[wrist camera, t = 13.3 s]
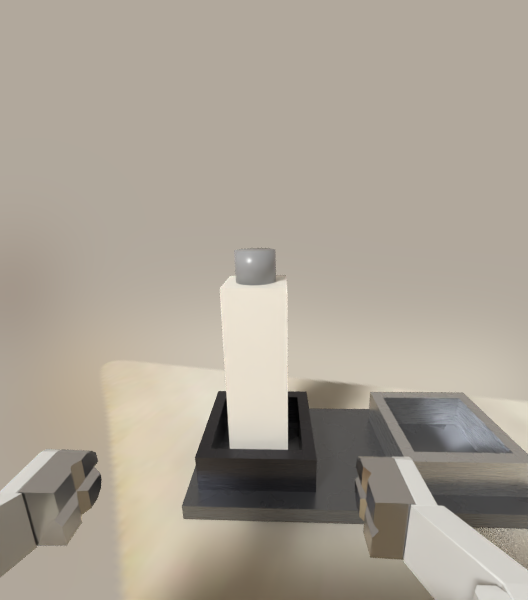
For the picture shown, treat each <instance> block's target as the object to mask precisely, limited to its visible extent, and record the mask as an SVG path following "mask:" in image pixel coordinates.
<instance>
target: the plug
mask: <svg viewBox="0 0 528 600" xmlns="http://www.w3.org/2000/svg"><path fill="white" fill-rule="evenodd" d="M234 252H235V274H236V276H230V277H229V278H228V279H227V280H226V282H225V283H224V284H223V285H222V286H221V287H220V302H221V317H222V332H223V348H224V365H225V380H226V396H227V412H228V428H229V443H230V449H273V450H288V353H287V352H288V346H287V345H288V341H287V339H288V337H287V334H288V330H287V280H286V275H276V267H275V266H276V264H275V249H268V248H250V249H239V250H235V251H234Z"/></svg>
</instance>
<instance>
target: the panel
mask: <svg viewBox="0 0 528 600" xmlns="http://www.w3.org/2000/svg"><path fill="white" fill-rule="evenodd" d="M358 456H366V457H410V458H411V459H412V460H413V462H414V464H415V465H416V467H417V469H418V471H419V473H420V474H421V476H422V478H423V480H424V481H425V483H426V485H427V487H428V489H429V490H430V492H431V494H432V496H433V498H434V499H435V501H436V503H437V505H438V506H445V507H446V508H447V509H448V510H450V511H451V512H452V513H454V514H455V515H456V516H458V517H459V518H460V519H462V520H463V521H464V522H466V523H467V524H468V525H469V526H471V527H490V528H525V529H528V454H527V453H526V452H525V451H524V450H523V449H522V448H521V447H520V446H519V445H517V444H516V443H515V442H514V441H513V440H512V439H511V438H510V437H509V436H508V435H507V434H506V433H505V432H504V431H503V430H502V429H501V428H500V427H499V426H498V425H496V424H495V423H494V422H493V421H492V420H491V419H490V418H489V417H488V416H487V415H486V414H485V413H484V412H483V411H482V410H481V409H480V408H479V407H478V406H476V405H475V404H474V403H473V402H472V401H471V400H470V399H469V398H468V397H467V396H466V395H465V394H464V393H446V392H370V403H369V409H309V406H308V400H307V393H306V392H288V450H273V449H230V443H229V428H228V412H227V396H226V391H218V394H217V397H216V400H215V403H214V406H213V408H212V411H211V414H210V417H209V420H208V423H207V425H206V428H205V431H204V434H203V437H202V440H201V442H200V445H199V448H198V451H197V454H196V457H195V461H196V466H195V469H194V472H193V475H192V478H191V481H190V484H189V487H188V490H187V493H186V496H185V499H184V502H183V505H182V510H183V518H184V519H209V520H244V521H280V522H315V523H350V524H364V521H363V520H362V519H361V518H360V517H359V514H358V510H357V505H356V500H355V479H356V478H357V477H358V472H357V469H356V461H357V457H358Z"/></svg>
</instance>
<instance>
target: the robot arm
mask: <svg viewBox="0 0 528 600" xmlns="http://www.w3.org/2000/svg"><path fill="white" fill-rule="evenodd" d="M97 462H98V460H97V455H96V453H95V452H93V451H84V450H56V449H55V450H54V449H46V450H44V451H42V452H40V453H39V454H38V455H37V456H36V457H35V458H34V459H33V460H32V461H31V462H30V463H29V464H28V465H27V466H26V467H25V468H24V469H23V470H22V471H21V472H20V473H18V474H17V475H16V476H15V477H14V478H13V479H12V480H11V481H10V482H9V483H8V484H7V485H6V486H5V487H4V488H3V489H2V490H1V491H0V577H1V576H3V575H4V574H5V573H6V572H8V571H9V570H10V569H11V568H12V567H14V566H15V565H16V564H17V563H19V562H20V561H21V560H22V559H23V558H25V557H26V556H27V555H28V554H29V553H31V552H32V551H33V550H34V549H35V548H36V547H37V546H67V545H68V543H69V541H70V540H71V538H72V537H73V535H74V534H75V532H76V531H77V529H78V528H79V526H80V525H81V523H82V514H84V513H85V512H87V511H88V510H89V509H91V508H92V506H93V505H94V503H95V501H96V500H97V498H98V495H99V492H100V489H101V475H100V472H99V471H98V470H97V469H96V468H95V465H96V464H97ZM356 469H357V472H358V477H357V478H356V479H355V500H356V505H357V510H358V514H359V517H360V518H361V519H362V520H363V521H364V530H363V533H364V536H365V540H366V543H367V547H368V551H369V554H370V557H371V558H385V559H399V560H404V561H403V562H404V563H405V564H406V565H407V567H408V568H409V569H410V570H411V572H412V573H413V574H414V575H415V576H416V578H417V579H418V580H419V581H420V582H421V584H422V585H423V586H424V587H425V588H426V590H427V591H428V592H429V593H430V594H431V596H432V597H433V598H434V599H435V600H528V570H527V569H526V568H524V567H523V566H522V565H520V564H519V563H518V562H517V561H515V560H514V559H513V558H511V557H510V556H509V555H507V554H506V553H505V552H503V551H502V550H501V549H500V548H498V547H497V546H496V545H494V544H493V543H492V542H490V541H489V540H488V539H486V538H485V537H484V536H483V535H481V534H480V533H479V532H477V531H476V530H475V529H473V528H472V527H471V526H469V525H468V524H467V523H466V522H464V521H463V520H462V519H460V518H459V517H458V516H456V515H455V514H454V513H452V512H451V511H450V510H448V509H447V508H446V507H445V506H438V505H437V503H436V501H435V499H434V498H433V496H432V494H431V492H430V490H429V489H428V487H427V485H426V483H425V481H424V480H423V478H422V476H421V474H420V473H419V471H418V469H417V467H416V465H415V464H414V462H413V460H412V459H411V458H410V457H366V456H358V457H357V461H356Z"/></svg>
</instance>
